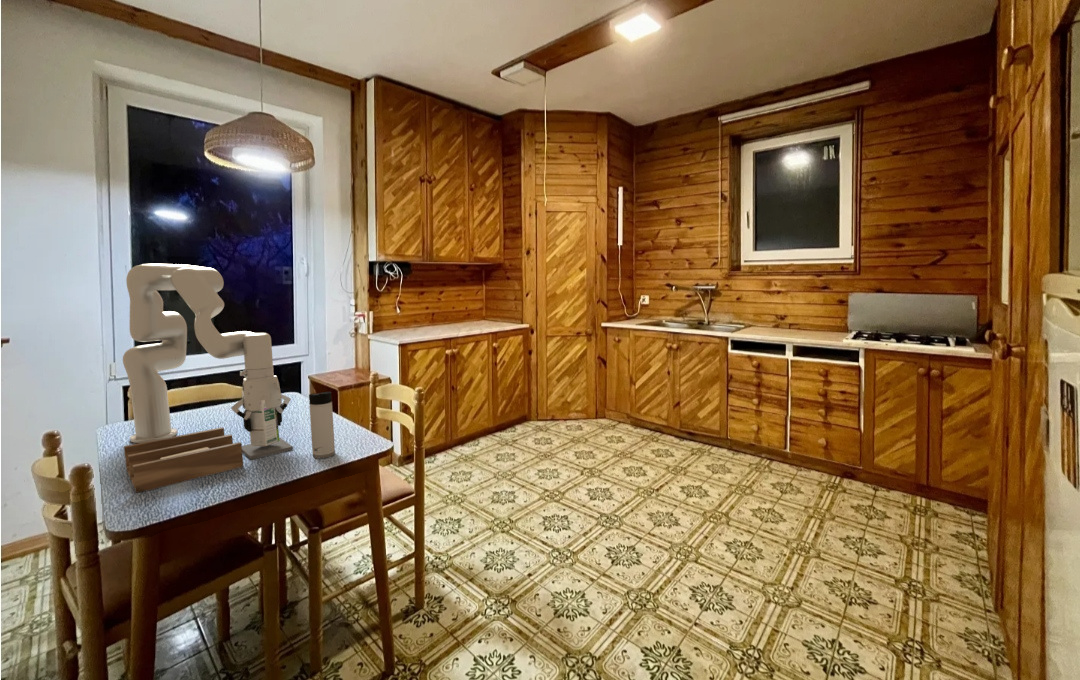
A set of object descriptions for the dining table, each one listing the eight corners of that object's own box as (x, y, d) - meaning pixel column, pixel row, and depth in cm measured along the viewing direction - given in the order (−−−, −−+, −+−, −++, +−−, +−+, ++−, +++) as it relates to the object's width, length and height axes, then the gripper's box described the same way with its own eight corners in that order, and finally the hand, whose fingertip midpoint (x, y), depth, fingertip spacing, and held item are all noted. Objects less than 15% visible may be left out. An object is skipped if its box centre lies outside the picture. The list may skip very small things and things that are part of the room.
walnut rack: (126, 469, 138) (123, 446, 137) (224, 448, 155) (222, 427, 154) (136, 493, 124) (133, 466, 123) (243, 466, 140) (241, 443, 140)
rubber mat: (239, 449, 154) (238, 446, 154) (280, 440, 163) (279, 437, 162) (250, 459, 146) (250, 456, 146) (292, 449, 154) (292, 446, 154)
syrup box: (266, 446, 150) (262, 399, 149) (249, 445, 151) (246, 399, 150) (279, 441, 155) (276, 396, 154) (264, 440, 157) (260, 396, 156)
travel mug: (315, 460, 145) (311, 395, 142) (310, 454, 150) (306, 390, 147) (337, 456, 149) (333, 392, 146) (332, 449, 154) (328, 388, 151)
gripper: (230, 379, 142) (235, 437, 144) (293, 370, 154) (297, 424, 157) (223, 375, 147) (228, 431, 150) (285, 367, 160) (289, 419, 162)
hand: (263, 427), depth 153 cm, fingers closed on syrup box, 7 cm apart
